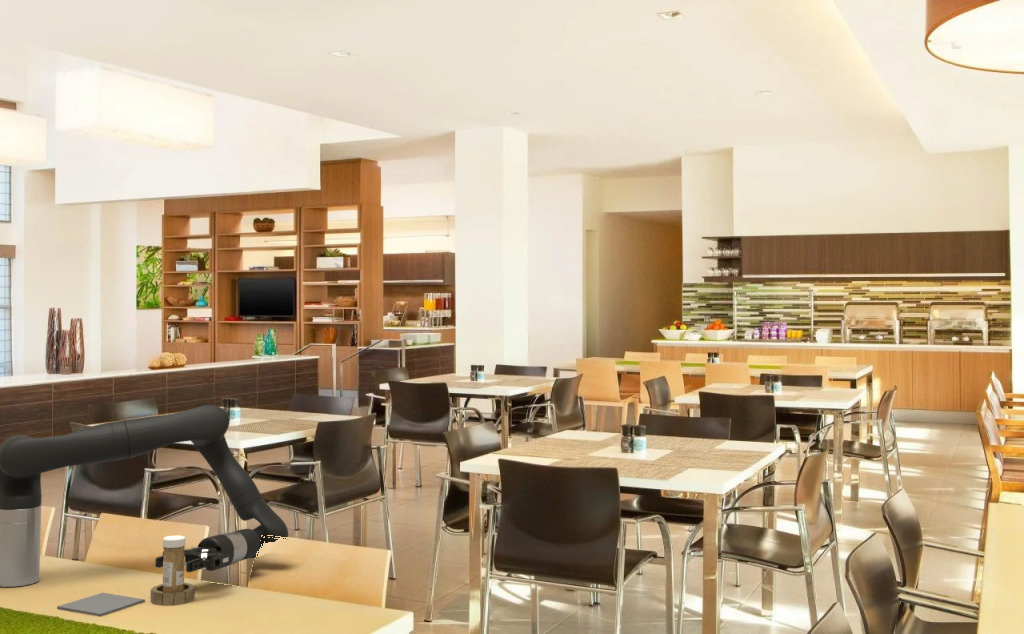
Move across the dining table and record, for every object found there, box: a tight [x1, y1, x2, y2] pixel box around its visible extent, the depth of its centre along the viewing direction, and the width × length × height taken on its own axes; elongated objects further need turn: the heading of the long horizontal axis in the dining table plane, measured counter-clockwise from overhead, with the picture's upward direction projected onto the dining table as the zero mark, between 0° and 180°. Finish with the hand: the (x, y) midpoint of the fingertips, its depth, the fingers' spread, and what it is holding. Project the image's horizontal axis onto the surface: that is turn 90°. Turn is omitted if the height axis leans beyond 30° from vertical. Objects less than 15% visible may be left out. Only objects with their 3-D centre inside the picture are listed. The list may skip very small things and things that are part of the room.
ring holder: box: [149, 582, 196, 606], centre depth 209 cm, size 9×9×2 cm
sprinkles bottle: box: [162, 535, 186, 592], centre depth 209 cm, size 5×5×14 cm
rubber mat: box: [56, 592, 146, 617], centre depth 203 cm, size 12×12×1 cm
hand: (172, 565), depth 208 cm, fingers open, 8 cm apart
